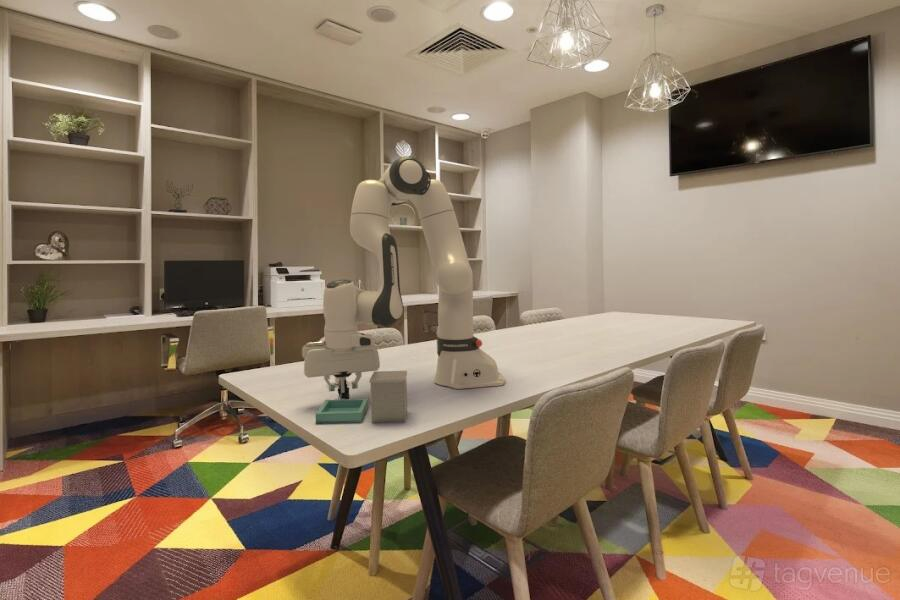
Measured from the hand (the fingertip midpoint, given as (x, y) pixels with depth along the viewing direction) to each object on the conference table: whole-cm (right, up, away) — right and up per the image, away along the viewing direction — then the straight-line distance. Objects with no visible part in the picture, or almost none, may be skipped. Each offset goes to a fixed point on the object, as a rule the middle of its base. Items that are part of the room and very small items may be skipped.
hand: (343, 389), depth 129 cm
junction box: (+14, -5, -12) cm, 19 cm away
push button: (0, -4, 0) cm, 4 cm away
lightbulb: (-6, -2, +19) cm, 20 cm away
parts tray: (+2, -5, -11) cm, 12 cm away
